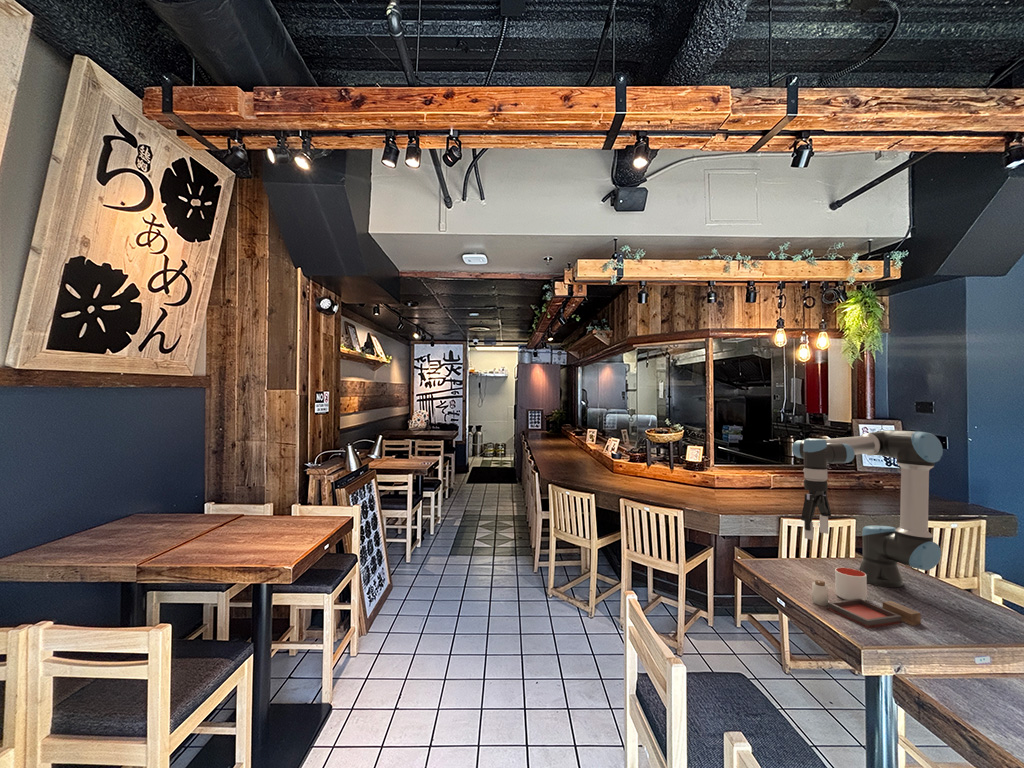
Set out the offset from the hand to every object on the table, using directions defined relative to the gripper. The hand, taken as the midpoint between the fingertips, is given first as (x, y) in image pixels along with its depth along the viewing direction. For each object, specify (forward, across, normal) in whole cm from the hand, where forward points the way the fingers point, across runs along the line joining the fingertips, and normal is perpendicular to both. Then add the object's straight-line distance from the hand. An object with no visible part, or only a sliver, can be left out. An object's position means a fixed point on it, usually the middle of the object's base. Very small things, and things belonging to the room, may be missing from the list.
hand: (816, 535), depth 179 cm
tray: (+26, -2, +14) cm, 29 cm away
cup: (+26, -17, +5) cm, 31 cm away
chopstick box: (+26, -11, +22) cm, 36 cm away
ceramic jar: (+26, -2, 0) cm, 26 cm away
